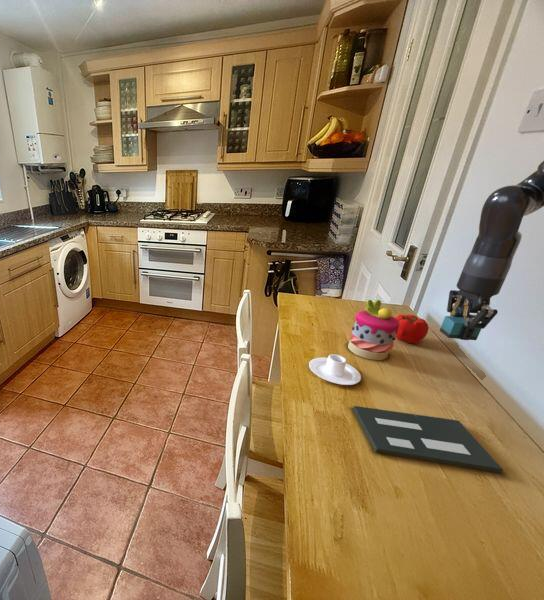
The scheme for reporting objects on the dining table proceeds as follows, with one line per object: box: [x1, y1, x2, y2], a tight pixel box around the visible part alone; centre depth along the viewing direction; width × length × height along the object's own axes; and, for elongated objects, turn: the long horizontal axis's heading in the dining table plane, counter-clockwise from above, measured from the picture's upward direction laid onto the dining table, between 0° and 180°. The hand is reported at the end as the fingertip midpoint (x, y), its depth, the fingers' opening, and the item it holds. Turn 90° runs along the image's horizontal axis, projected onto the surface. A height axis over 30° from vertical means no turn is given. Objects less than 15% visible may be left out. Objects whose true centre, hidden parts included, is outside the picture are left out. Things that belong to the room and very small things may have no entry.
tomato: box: [394, 313, 429, 344], centre depth 99 cm, size 9×9×8 cm
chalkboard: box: [352, 405, 504, 474], centre depth 64 cm, size 20×12×1 cm, turn 77°
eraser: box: [439, 315, 482, 341], centre depth 82 cm, size 6×4×4 cm, turn 76°
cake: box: [347, 299, 400, 361], centre depth 91 cm, size 10×11×15 cm
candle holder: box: [308, 353, 362, 386], centre depth 83 cm, size 12×12×4 cm
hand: (457, 334), depth 83 cm, fingers closed on eraser, 4 cm apart
